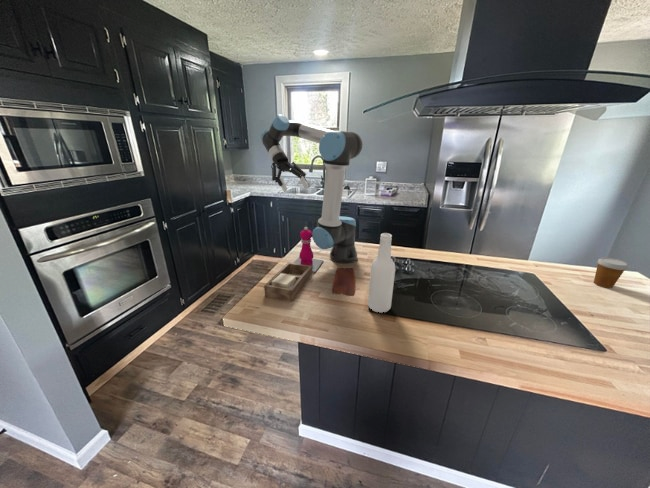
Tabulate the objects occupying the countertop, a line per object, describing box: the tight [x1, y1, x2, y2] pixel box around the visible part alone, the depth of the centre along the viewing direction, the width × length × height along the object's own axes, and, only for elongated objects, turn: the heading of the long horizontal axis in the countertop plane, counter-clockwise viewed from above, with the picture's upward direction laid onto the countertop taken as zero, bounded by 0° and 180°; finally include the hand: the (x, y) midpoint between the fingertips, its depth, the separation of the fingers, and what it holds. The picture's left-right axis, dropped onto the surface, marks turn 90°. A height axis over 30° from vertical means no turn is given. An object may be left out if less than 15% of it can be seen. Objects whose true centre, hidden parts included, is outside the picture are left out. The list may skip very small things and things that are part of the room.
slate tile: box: [293, 256, 324, 274], centre depth 137 cm, size 14×14×1 cm
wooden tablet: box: [331, 267, 356, 297], centre depth 123 cm, size 27×10×2 cm, turn 173°
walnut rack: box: [263, 261, 313, 302], centre depth 117 cm, size 12×24×5 cm, turn 163°
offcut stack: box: [272, 274, 296, 289], centre depth 112 cm, size 9×9×6 cm
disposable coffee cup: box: [593, 257, 629, 289], centre depth 119 cm, size 10×10×12 cm
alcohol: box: [367, 232, 396, 314], centre depth 98 cm, size 9×9×30 cm
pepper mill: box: [298, 226, 314, 265], centre depth 133 cm, size 7×7×20 cm
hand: (296, 189), depth 134 cm, fingers open, 13 cm apart
